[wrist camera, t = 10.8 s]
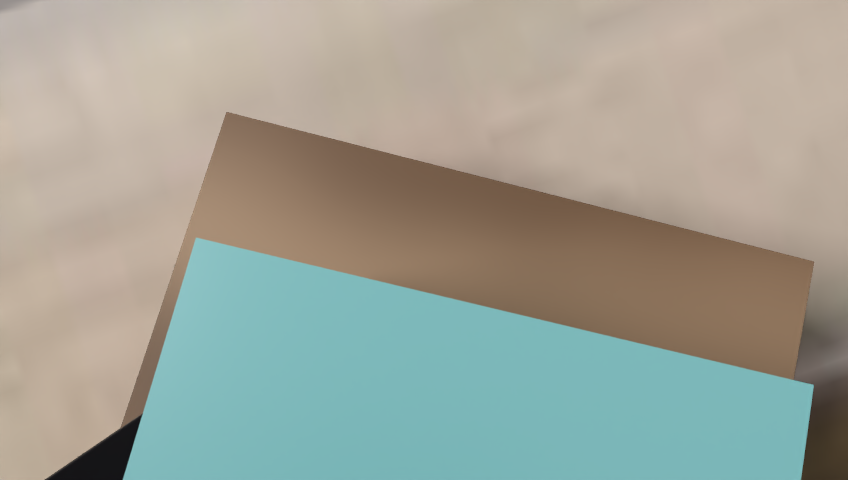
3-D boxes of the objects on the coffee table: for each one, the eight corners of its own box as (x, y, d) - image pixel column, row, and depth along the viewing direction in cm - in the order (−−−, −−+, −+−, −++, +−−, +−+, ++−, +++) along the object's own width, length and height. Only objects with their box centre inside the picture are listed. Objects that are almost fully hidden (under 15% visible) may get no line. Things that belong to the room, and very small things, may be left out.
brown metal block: (606, 752, 15) (690, 966, 10) (152, 607, 15) (16, 738, 10) (701, 283, 16) (813, 261, 11) (288, 175, 17) (226, 111, 12)
